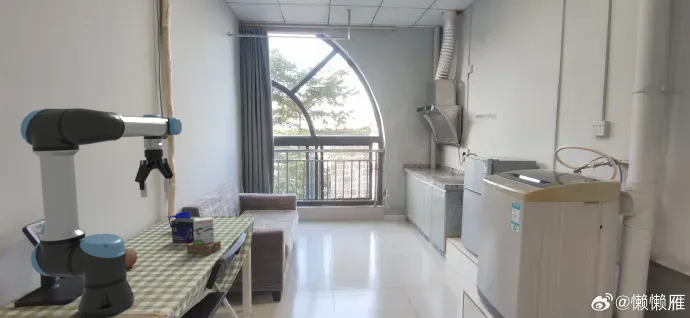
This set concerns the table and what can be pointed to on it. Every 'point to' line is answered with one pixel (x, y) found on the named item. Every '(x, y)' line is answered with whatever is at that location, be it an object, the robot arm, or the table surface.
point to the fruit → (130, 257)
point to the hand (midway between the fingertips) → (156, 194)
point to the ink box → (203, 230)
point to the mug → (181, 216)
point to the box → (182, 230)
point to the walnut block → (204, 248)
